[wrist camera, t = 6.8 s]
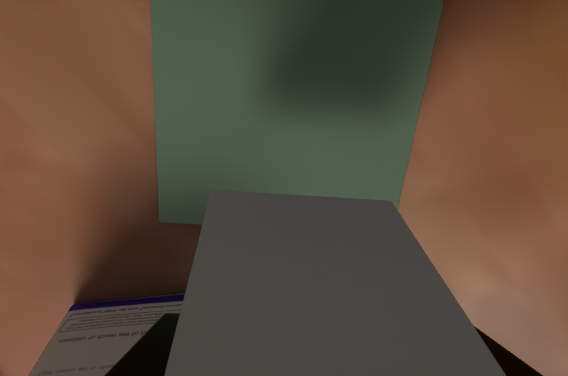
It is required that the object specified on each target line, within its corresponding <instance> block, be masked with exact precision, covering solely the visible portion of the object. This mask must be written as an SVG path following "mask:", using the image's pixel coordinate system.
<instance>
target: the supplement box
mask: <svg viewBox="0 0 568 376" xmlns="http://www.w3.org/2000/svg"><path fill="white" fill-rule="evenodd" d="M184 296H185V293H180V294H170V295H161V296H150V297H140V298H129V299H117V300H104V301H93V302H85V303H77V304H74V305H72V306H71V308H70V309H69V311H68V313H67V314H66V316H65V317H64V319H63V321H62V322H61V324H60V326H59V327H58V329H57V330H56V332H55V333H54V335H53V337H52V338H51V340H50V341H49V343H48V345H47V346H46V348H45V350H44V351H43V353H42V354H41V356H40V358H39V359H38V361H37V363H36V364H35V366H34V367H33V369H32V371H31V372H30V374H29V376H104V375H105V374H106V373H107V372H108V371H109V370H110V369H111V368H112V367H113V366H114V365H115V364H116V363H117V362H118V361H119V360H120V359H121V358H122V357H123V356H124V355H125V354H126V353H127V352H128V351H129V350H130V349H131V347H132V346H133V345H134V344H135V343H136V342H137V341H138V340H139V339H140V338H141V337H142V336H143V335H144V334H145V333H146V332H147V331H148V330H149V329H150V328H151V327H152V326H153V325H154V324H155V323H156V322H157V321H158V320H159V319H160V318H161V317H162V316H163V315H164V314H166V313H180V312H181V308H182V304H183V300H184Z"/></svg>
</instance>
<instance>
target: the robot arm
mask: <svg viewBox="0 0 568 376" xmlns="http://www.w3.org/2000/svg"><path fill="white" fill-rule="evenodd" d="M179 316H180V313H166V314H164V315H163V316H162V317H161V318H160V319H159V320H158V321H157V322H156V323H155V324H154V325H153V326H152V327H151V328H150V329H149V330H148V331H147V332H146V333H145V334H144V335H143V336H142V337H141V338H140V339H139V340H138V341H137V342H136V343H135V344H134V345H133V346H132V347H131V349H130V350H129V351H128V352H127V353H126V354H125V355H124V356H123V357H122V358H121V359H120V360H119V361H118V362H117V363H116V364H115V365H114V366H113V367H112V368H111V369H110V370H109V371H108V372H107V373H106V374H105V375H104V376H164V375H165V371H166V367H167V363H168V359H169V355H170V351H171V347H172V343H173V339H174V335H175V331H176V327H177V323H178V319H179ZM474 328H475V329H476V331H477V332H478V334H479V335H480V337H481V338H482V340H483V341H484V343H485V344H486V346H487V347H488V349H489V350H490V352H491V353H492V355H493V356H494V358H495V359H496V361H497V363H498V364H499V366H500V367H501V369H502V370H503V372H504V373H505V375H506V376H543V375H541V374H540V373H539V372H537V371H536V370H534V369H533V368H532V367H530V366H529V365H527V364H526V363H525V362H523V361H522V360H521V359H519V358H518V357H516V356H515V355H514V354H512V353H511V352H509V351H508V350H507V349H505V348H504V347H502V346H501V345H500V344H498V343H497V342H495V341H494V340H493V339H491V338H490V337H488V336H487V335H486V334H484V333H483V332H482V331H480V330H479V329H477V328H476V327H475V326H474Z"/></svg>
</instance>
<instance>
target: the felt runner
mask: <svg viewBox="0 0 568 376" xmlns="http://www.w3.org/2000/svg"><path fill="white" fill-rule="evenodd" d="M443 3H444V0H151V22H152V49H153V75H154V102H155V128H156V155H157V181H158V208H159V223H178V224H199V225H202V224H203V220H204V217H205V213H206V209H207V205H208V201H209V197H210V193H211V190H224V191H240V192H257V193H273V194H289V195H306V196H322V197H338V198H355V199H371V200H387V201H391V202H392V203H393V205H394V206H395V208H396V209H398V204H399V200H400V195H401V191H402V186H403V182H404V177H405V173H406V168H407V164H408V160H409V155H410V151H411V146H412V142H413V137H414V133H415V128H416V124H417V119H418V115H419V110H420V106H421V102H422V97H423V93H424V88H425V84H426V79H427V75H428V70H429V66H430V61H431V57H432V53H433V48H434V44H435V39H436V35H437V30H438V26H439V21H440V17H441V12H442V8H443Z"/></svg>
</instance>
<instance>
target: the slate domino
mask: <svg viewBox="0 0 568 376" xmlns="http://www.w3.org/2000/svg"><path fill="white" fill-rule="evenodd" d="M164 376H506V375H505V373H504V372H503V370H502V369H501V367H500V366H499V364H498V363H497V361H496V359H495V358H494V356H493V355H492V353H491V352H490V350H489V349H488V347H487V346H486V344H485V343H484V341H483V340H482V338H481V337H480V335H479V334H478V332H477V331H476V329H475V328H474V326H473V325H472V323H471V322H470V320H469V318H468V317H467V315H466V314H465V312H464V311H463V309H462V308H461V306H460V305H459V303H458V302H457V300H456V299H455V297H454V296H453V294H452V293H451V291H450V290H449V288H448V287H447V285H446V284H445V282H444V281H443V279H442V278H441V276H440V274H439V273H438V271H437V270H436V268H435V267H434V265H433V264H432V262H431V261H430V259H429V258H428V256H427V255H426V253H425V252H424V250H423V249H422V247H421V246H420V244H419V243H418V241H417V240H416V238H415V237H414V235H413V233H412V232H411V230H410V229H409V227H408V226H407V224H406V223H405V221H404V220H403V218H402V217H401V215H400V214H399V212H398V211H397V209H396V208H395V206H394V205H393V203H392V202H391V201H387V200H371V199H355V198H338V197H322V196H306V195H289V194H273V193H257V192H240V191H224V190H211V193H210V197H209V201H208V205H207V209H206V213H205V217H204V220H203V224H202V228H201V232H200V236H199V240H198V244H197V248H196V252H195V256H194V260H193V264H192V268H191V272H190V276H189V280H188V284H187V288H186V292H185V296H184V300H183V304H182V308H181V312H180V316H179V319H178V323H177V327H176V331H175V335H174V339H173V343H172V347H171V351H170V355H169V359H168V363H167V367H166V371H165V375H164Z"/></svg>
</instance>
